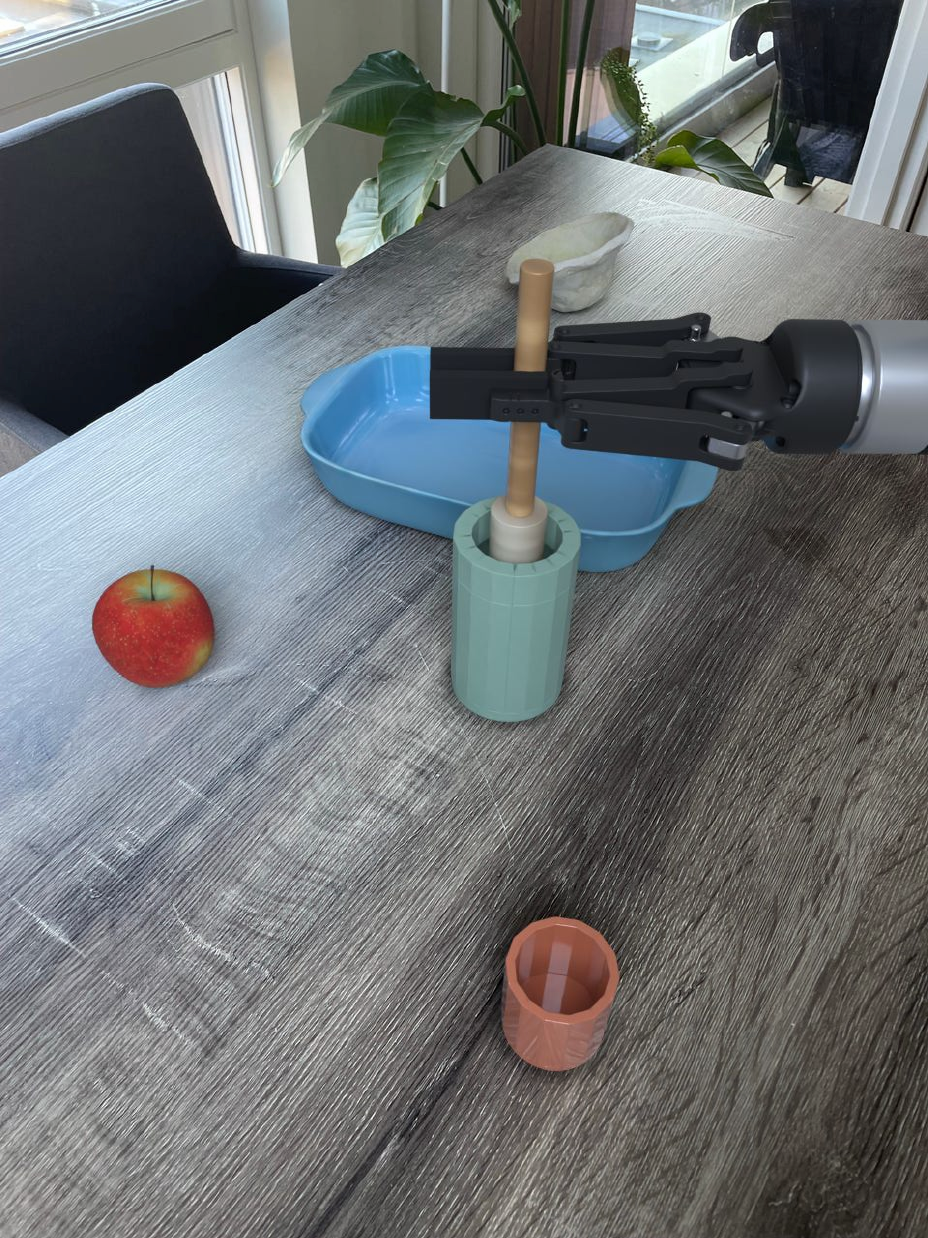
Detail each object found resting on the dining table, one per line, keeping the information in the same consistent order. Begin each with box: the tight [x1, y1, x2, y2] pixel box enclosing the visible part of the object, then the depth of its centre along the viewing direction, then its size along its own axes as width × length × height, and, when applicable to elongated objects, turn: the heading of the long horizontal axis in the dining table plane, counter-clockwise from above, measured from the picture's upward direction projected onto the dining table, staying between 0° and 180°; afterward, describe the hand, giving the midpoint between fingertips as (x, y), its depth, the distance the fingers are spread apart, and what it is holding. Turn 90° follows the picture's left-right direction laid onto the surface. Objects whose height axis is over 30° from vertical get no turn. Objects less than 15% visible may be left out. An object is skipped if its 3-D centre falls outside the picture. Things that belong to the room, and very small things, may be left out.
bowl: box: [503, 211, 635, 313], centre depth 114 cm, size 15×14×10 cm
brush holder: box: [500, 916, 620, 1072], centre depth 54 cm, size 6×6×6 cm
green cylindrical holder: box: [450, 496, 581, 723], centre depth 69 cm, size 8×8×14 cm
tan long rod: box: [489, 259, 555, 564], centre depth 60 cm, size 4×4×24 cm
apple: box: [91, 564, 216, 689], centre depth 71 cm, size 8×8×10 cm
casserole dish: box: [299, 344, 719, 573], centre depth 88 cm, size 37×22×7 cm, turn 69°
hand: (430, 382), depth 57 cm, fingers closed on tan long rod, 2 cm apart
